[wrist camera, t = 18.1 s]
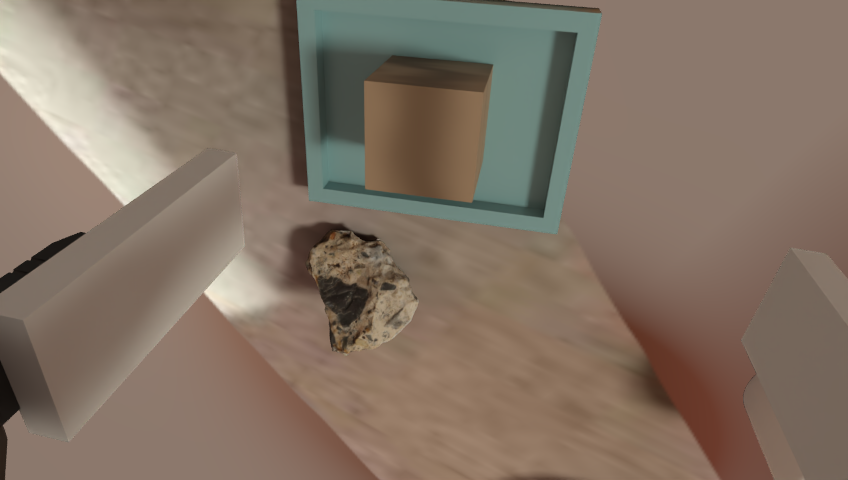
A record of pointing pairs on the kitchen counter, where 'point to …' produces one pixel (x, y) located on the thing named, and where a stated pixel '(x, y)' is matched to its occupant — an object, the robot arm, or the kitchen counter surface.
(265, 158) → the kitchen counter surface
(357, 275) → the rock
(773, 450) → the mug
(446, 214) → the tray
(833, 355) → the robot arm
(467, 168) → the walnut cube
